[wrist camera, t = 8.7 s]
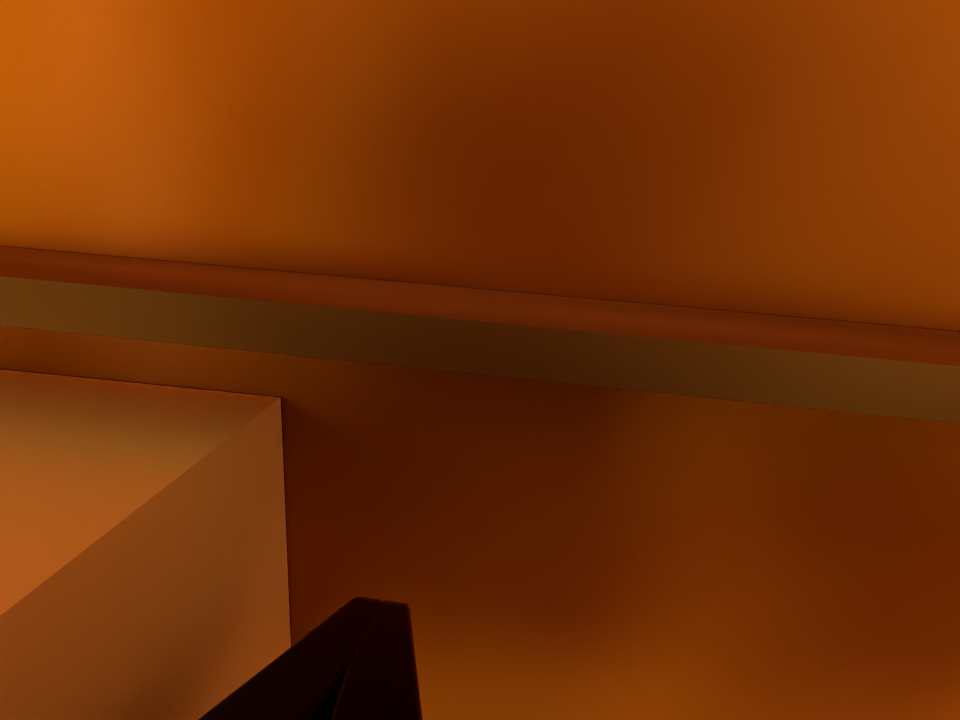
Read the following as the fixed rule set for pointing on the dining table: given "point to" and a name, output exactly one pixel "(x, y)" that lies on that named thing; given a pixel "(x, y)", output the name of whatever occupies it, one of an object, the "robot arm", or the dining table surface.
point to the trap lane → (491, 332)
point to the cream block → (137, 547)
